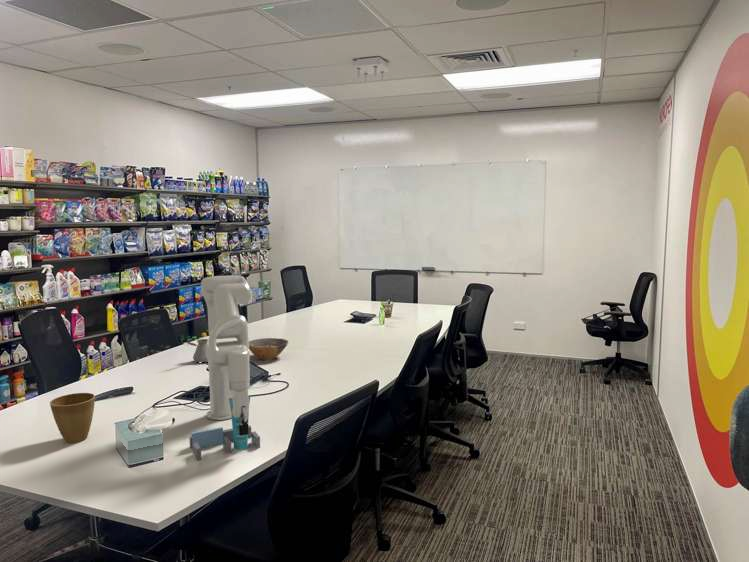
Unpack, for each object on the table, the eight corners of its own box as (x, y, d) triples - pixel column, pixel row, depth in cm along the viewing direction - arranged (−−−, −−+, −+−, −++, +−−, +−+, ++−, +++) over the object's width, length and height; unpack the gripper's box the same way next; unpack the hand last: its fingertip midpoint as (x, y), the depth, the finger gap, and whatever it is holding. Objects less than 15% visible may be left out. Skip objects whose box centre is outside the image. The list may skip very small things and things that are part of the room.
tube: (231, 452, 195) (230, 400, 193) (229, 446, 200) (228, 396, 198) (252, 448, 198) (251, 397, 196) (250, 443, 203) (248, 393, 200)
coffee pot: (200, 358, 327) (199, 334, 325) (217, 359, 324) (216, 335, 322) (178, 367, 306) (177, 341, 305) (196, 369, 303) (195, 343, 302)
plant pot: (87, 429, 217) (84, 390, 215) (104, 438, 207) (101, 397, 206) (46, 440, 205) (43, 399, 204) (62, 451, 196) (59, 408, 194)
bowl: (297, 356, 331) (296, 340, 330) (268, 365, 311) (268, 348, 309) (266, 351, 345) (266, 335, 344) (237, 359, 324) (236, 343, 323)
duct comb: (189, 446, 200) (189, 431, 199) (250, 435, 211) (249, 420, 210) (196, 460, 188) (196, 443, 188) (260, 447, 199) (259, 431, 199)
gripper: (222, 379, 202) (224, 424, 204) (235, 392, 187) (236, 441, 189) (242, 376, 206) (244, 421, 207) (256, 389, 190) (257, 436, 192)
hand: (240, 430), depth 198 cm, fingers open, 8 cm apart
